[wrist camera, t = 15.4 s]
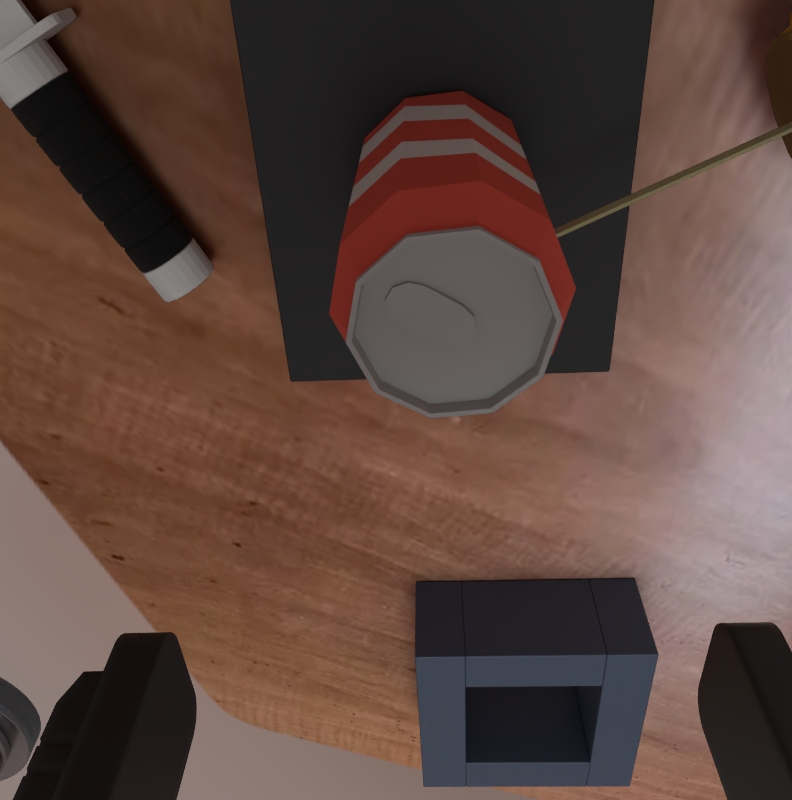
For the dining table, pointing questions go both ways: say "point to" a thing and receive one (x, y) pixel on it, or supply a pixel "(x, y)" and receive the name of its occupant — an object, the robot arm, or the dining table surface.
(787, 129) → the brown stick
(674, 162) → the dining table surface
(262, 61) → the mat
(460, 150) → the beverage can
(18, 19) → the black and white cylinder
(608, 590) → the holder
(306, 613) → the dining table surface
